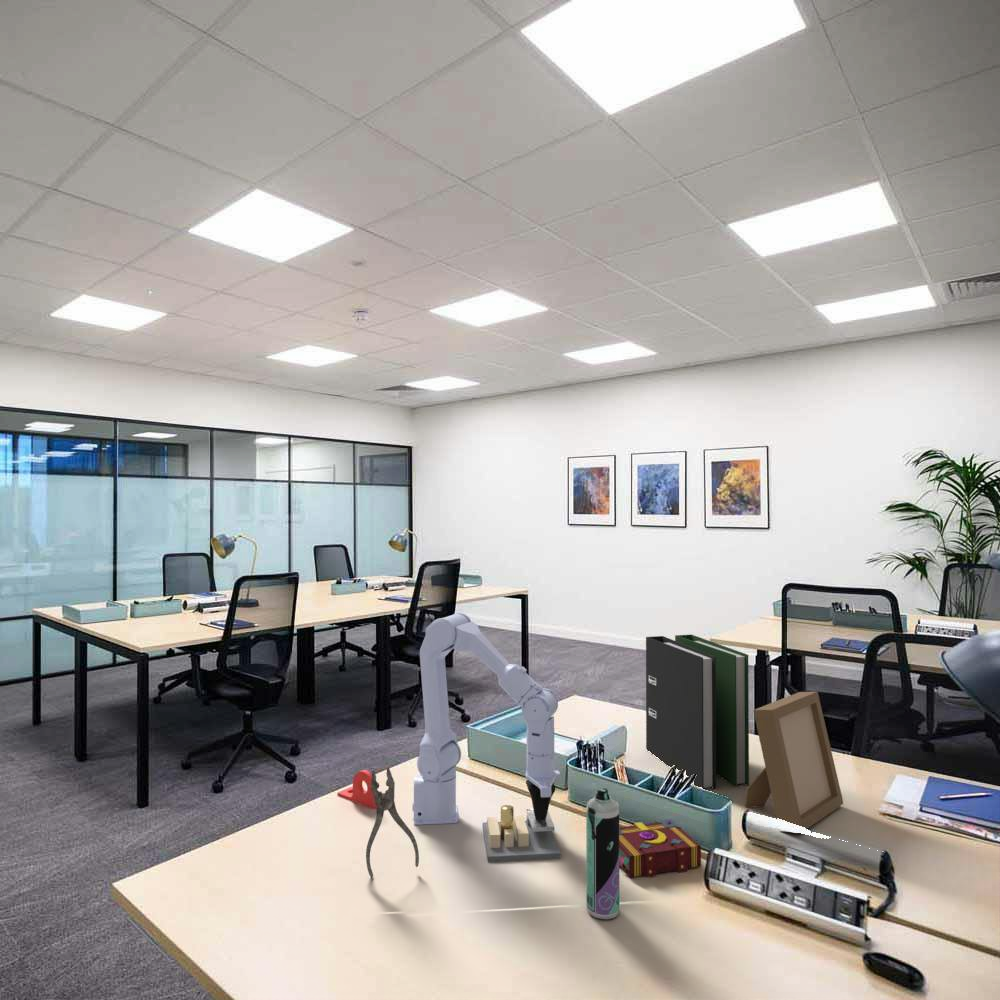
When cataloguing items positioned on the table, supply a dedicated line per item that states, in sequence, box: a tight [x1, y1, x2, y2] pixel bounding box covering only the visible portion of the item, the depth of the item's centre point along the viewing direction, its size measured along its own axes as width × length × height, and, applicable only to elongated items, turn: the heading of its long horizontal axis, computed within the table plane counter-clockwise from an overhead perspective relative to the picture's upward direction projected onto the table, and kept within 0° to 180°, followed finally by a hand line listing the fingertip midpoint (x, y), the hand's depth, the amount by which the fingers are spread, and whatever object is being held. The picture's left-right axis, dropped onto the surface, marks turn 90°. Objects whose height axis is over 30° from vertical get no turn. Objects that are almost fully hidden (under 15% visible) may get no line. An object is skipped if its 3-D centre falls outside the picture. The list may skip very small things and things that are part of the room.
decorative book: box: [619, 818, 702, 878], centre depth 129 cm, size 11×16×5 cm
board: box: [481, 815, 561, 863], centre depth 135 cm, size 14×14×4 cm
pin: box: [500, 804, 515, 840], centre depth 135 cm, size 3×3×6 cm
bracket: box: [336, 769, 376, 810], centre depth 155 cm, size 12×4×8 cm, turn 54°
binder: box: [645, 634, 750, 791], centre depth 174 cm, size 27×15×32 cm, turn 15°
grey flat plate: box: [526, 808, 556, 832], centre depth 138 cm, size 4×8×1 cm, turn 6°
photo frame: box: [744, 691, 844, 829], centre depth 150 cm, size 15×22×25 cm
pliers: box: [365, 765, 420, 879], centre depth 123 cm, size 10×1×20 cm, turn 101°
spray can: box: [585, 788, 620, 920], centre depth 113 cm, size 6×6×20 cm
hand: (540, 818), depth 137 cm, fingers closed
